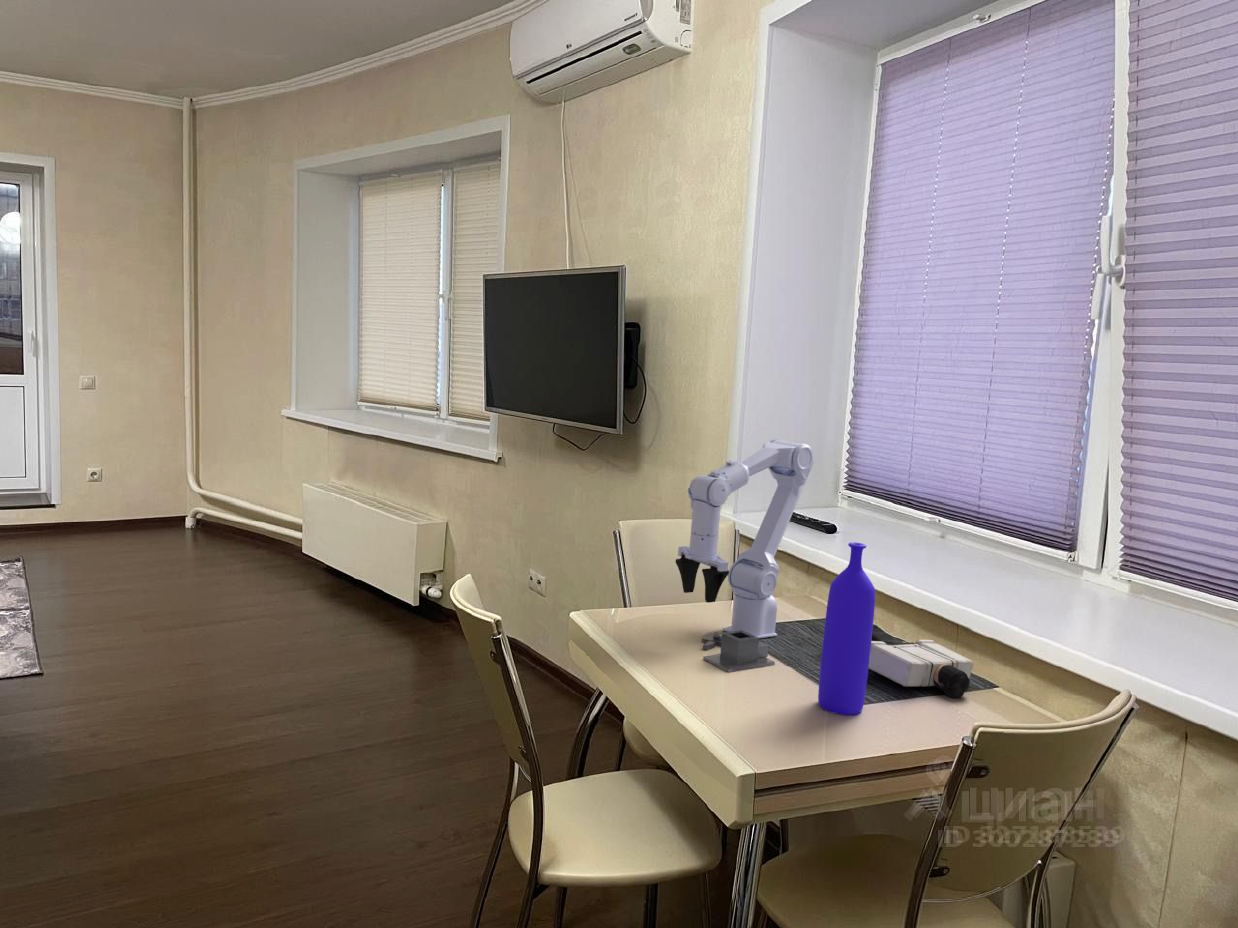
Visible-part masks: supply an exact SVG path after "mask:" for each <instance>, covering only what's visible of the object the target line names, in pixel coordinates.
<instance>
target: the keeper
mask: <svg viewBox="0 0 1238 928" xmlns="http://www.w3.org/2000/svg"><path fill="white" fill-rule="evenodd" d="M768 655H769V644H767V643H764V642H763V641H759V642H758V652H757V662H753V663H747V664H741V665H735V664H733V663H731V662H729V661H727V660H725V659H723V658H721V657H720V653H717V654H711V655H704V656H703V657H702V659H703V661H706V662H707V663H710V664H711V665H713V666H715V667H717V668H719V669H722V670H723V671H725V672H727V673H732V672H740V671H744V670H750V669H755V668H761V667H762V668H763V667H769V666H774V665H775V664H776V663H775V661H774V660H772V659H770V658H769V657H768Z"/></svg>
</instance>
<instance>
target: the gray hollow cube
mask: <svg viewBox="0 0 1238 928" xmlns="http://www.w3.org/2000/svg"><path fill="white" fill-rule="evenodd" d="M721 633H722V641H721V646H720V653H719V654H720V657H721V658H723V659H725V660H727V661H729V662H731V663H733V664H735V665H741V664H747V663H753V662H757V652H758V642H760V638H758V637H756V636H754V635H752V634H749V633H747V632H745V631H743V630H740V631H733V632H726V631H725V632H721Z"/></svg>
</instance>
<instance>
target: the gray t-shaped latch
mask: <svg viewBox="0 0 1238 928" xmlns="http://www.w3.org/2000/svg"><path fill="white" fill-rule="evenodd" d="M722 633H723V632H720V631H715V632H711V633H709V634H707V635H705V636H704V637H702V639H701V642H702V643H704V644H702V650H704V651H709V650H712V649H714V648H715V647H716V646H718V647H721V641H722Z"/></svg>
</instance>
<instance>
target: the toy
mask: <svg viewBox="0 0 1238 928" xmlns="http://www.w3.org/2000/svg"><path fill="white" fill-rule="evenodd" d="M973 666H974V662H973V660H972V659H969V658H967V657H965V656H963V655H961V654H959V653H957V652H955V651H953V650H951V649H949V648H947V647H944V646H943V645H941V644H939V643H936V642H935V640H932V639H917V640H915V642H907V641H900V640H896V639H895V638H893V637H892V636H890V634H888V633H887V632H886V631H884V630H882V628H880V627H879V626H878V625H877V624H874V623H873V631H872V640H871V650H870V659H869V668H868V670H871V671H873V672H876V673H877V674H879V675H881V676H884V677H885V678H887V679H889V680H891V681H893V682H895V683H897V684H898V685H901V686H903V687H922V688H923V687H924V688H926V687H937V688H938V689H940V690H941V691H943V692H944V693H945V695H947V696H948V697H950V698H952V699H961V698H962V697H963V696H964V694H965V693H966V692H967V691H968V690H969V687H970V683H971V680H970V678H971V674H972V670H973Z"/></svg>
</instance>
